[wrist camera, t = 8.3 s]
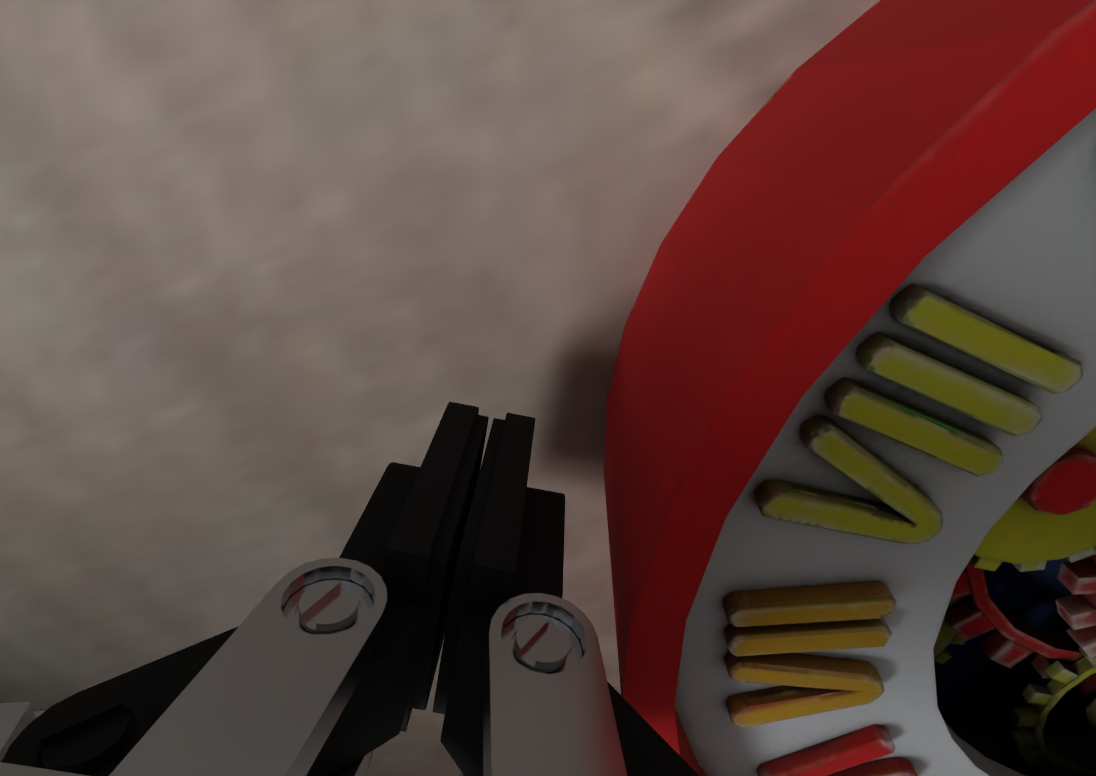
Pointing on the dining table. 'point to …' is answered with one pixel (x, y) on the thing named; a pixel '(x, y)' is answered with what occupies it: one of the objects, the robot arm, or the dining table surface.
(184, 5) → the dining table surface
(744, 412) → the toy clock
